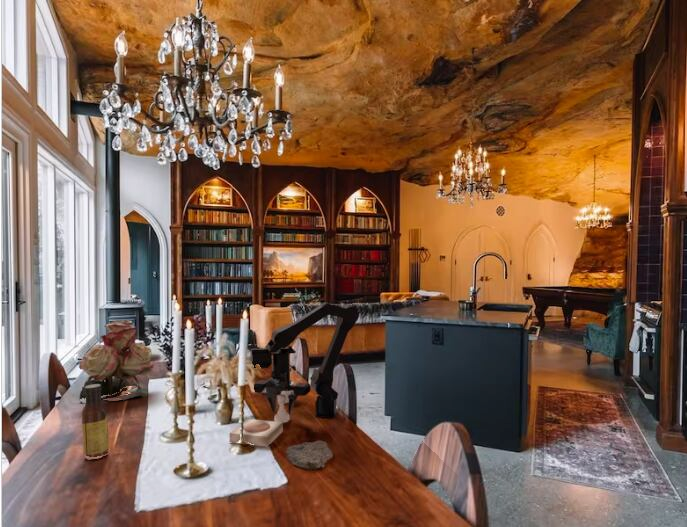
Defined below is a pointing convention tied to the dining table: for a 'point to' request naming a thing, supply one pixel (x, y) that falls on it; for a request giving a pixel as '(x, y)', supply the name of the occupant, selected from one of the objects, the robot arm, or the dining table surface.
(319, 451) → the stone slab
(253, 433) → the plinth
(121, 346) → the rose bouquet
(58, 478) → the dining table surface
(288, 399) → the shot glass
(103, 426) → the sauce bottle
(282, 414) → the chess pawn
